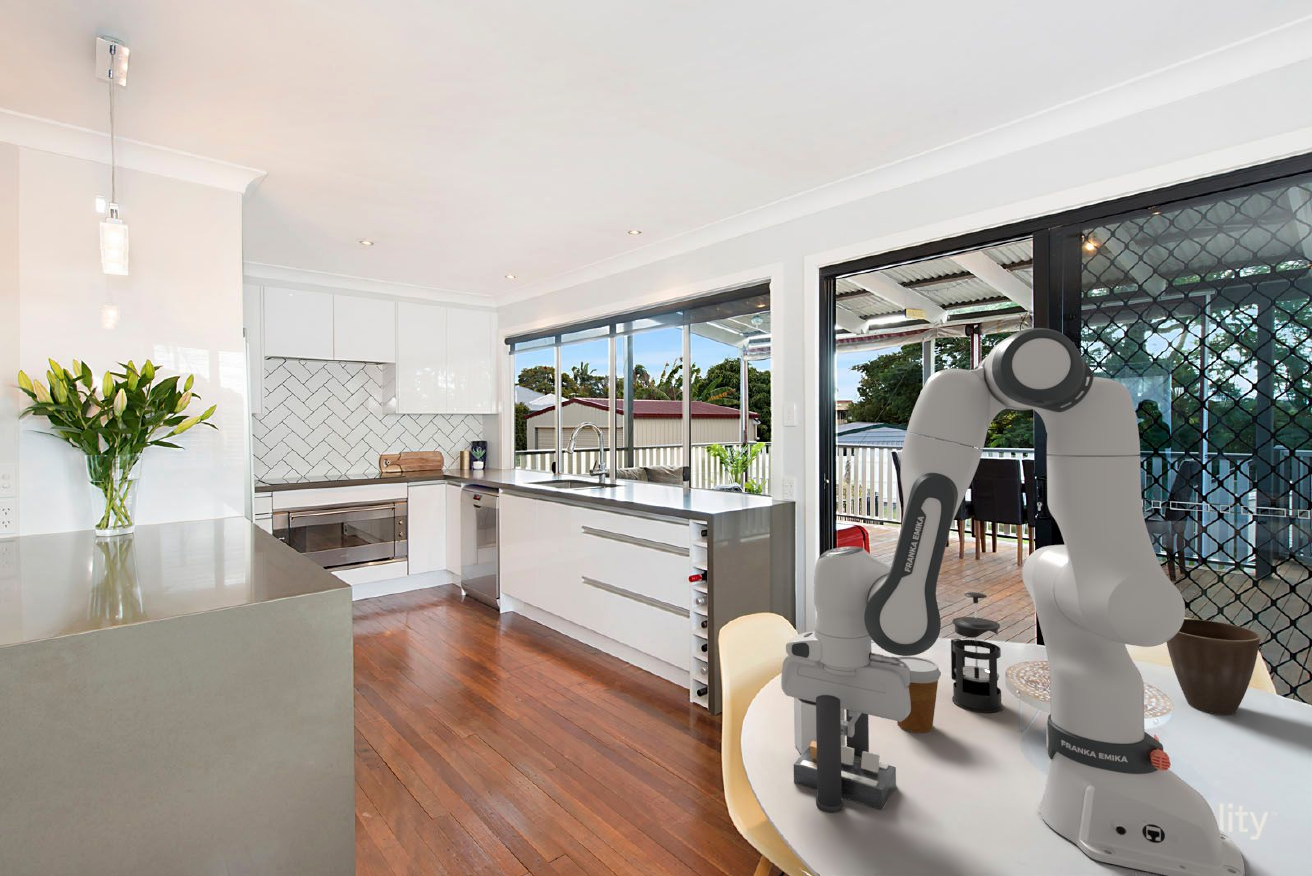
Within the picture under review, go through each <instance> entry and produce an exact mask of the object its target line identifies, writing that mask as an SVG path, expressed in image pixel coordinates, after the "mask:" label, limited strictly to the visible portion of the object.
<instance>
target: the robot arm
mask: <svg viewBox="0 0 1312 876" xmlns="http://www.w3.org/2000/svg"><path fill="white" fill-rule="evenodd" d="M1089 366H1090V365H1088V364H1087V362H1086V361H1085V359H1084V358H1083V357H1082V355H1081V353H1080V351H1079V349H1078V348H1077V346H1076V345H1075V343H1074V342H1073V341H1072V340H1071V339H1070V338H1069V337H1067V336H1066V335H1064V334H1063V333H1061V332H1060V331H1057V330H1054V329H1050V328H1044V327H1032V328H1025V329H1023V330H1019V331H1016V332H1015V333H1013V334H1011V335H1010V336H1008V337H1007V338H1004V339H1003V340H1001V341H1000V342H999V343H997V344H996V345H995V346H994V347H993V348H992V349H991V350H990V352H989V353H988V354H987V355H986V356H985V357H984V358H983V359H982V360H981V361H980V362H979V364H977V366H975V367H974V368H973V369H968V370H967V369H964V368H946V369H942V370H938V371H937V372H934V373H932V374H930V376H929V377H928V378H927V380H926V381H925V384H924V385H923V388H922V390H921V391H920V394H919V395H918V397H917V400H916V402H915V405H914V407H913V409H912V413H911V414H910V415H911V416H910V418H909V422H908V425H907V429H906V431H905V432H906V433H905V436H904V440H903V444H902V450H901V451H902V452H901V456H900V457H901V458H900V459H901V460H900V483H901V489H902V490H901V491H902V497H903V516H902V523H901V526H900V531H899V535H898V539H897V542H896V547H895V550H894V555H893V559H892V561H891V562H892V563H891V564H889V563H887V562H886V561H883V560H881V559H879V558H877V557H875V556H873V555H872V554H870V553H869V552H868V551H867V550H866V549H865V548H863V547H859V546H848V545H847V546H841V547H835V548H832V549H827V550H826V551H824V552H823V553H821V555H820V556H819V557H818V558H817V560H816V563H815V568H814V577H813V603H814V607H815V611H816V619H815V622H814V627H813V631H806V632H801V633H800V634H798V635H795V636H794V637H792V638H790V640H789V641H787V643H786V644H785V652H786V654H787V655H786V656H785V658H784V659H783V661H782V666H781V668H782V669H781V678H780V679H781V681H780V686H781V691H783V693H784V694H785V695H786V696H787V697H791V698H794V697H795V698H799V699H803V700H808V701H812V702H816V697H818V696H820V695H831V696H835V697H837V698H839V699H840V708H842V709H844V710H846V709H847V710H849V716H850V717H852V719H851V720H850V722H848V721H846V720H845V721H844V720H841V735H845V737H847V736H848V737H853V735H854V733H855V723H856V721H857V720H858V718H859V717H860V715H861V713H864V714H868V716H869V715H870V716H872V717H877V718H883V719H886V720H891V721H894V722H895V721H896V722H897V721H899V722H902V721H903V720H904V719H906V718H907V717H908V715H909V714H910V711H911V702H910V693H909V687H908V686H909V685H910V682H911V672H910V669H909V667H908V666H907V664H906V663H904V662H902V661H901V660H900V659H899V658H897V657H898V656H899V657H900V656H913V657H914V656H918V655H920V654H923V653H925V652H927V651H928V650H930V648H932V647H933V645H934V644H935V643H936V641H937V640H938V638H939V636H940V633H941V627H942V626H941V624H942V623H941V614H940V611H939V610H940V609H939V605H938V602H937V585H938V581H939V580H938V579H939V575H940V572H941V568H942V563H943V559H944V555H945V552H946V547H947V543H948V538H949V535H950V531H951V527H952V525H953V522H954V519H955V517H956V515H957V513H958V510H959V509H960V506H961V504H962V501H963V500H964V498H965V497H966V494H967V492H968V490H969V488H970V486H971V483H972V481H973V478H974V477H975V474H976V472H977V470H978V466H979V464H980V461H981V457H982V454H983V449H984V447H985V442H986V438H987V433H988V430H989V428H990V426H991V424H992V422H993V420H994V419H995V418H996V416H997V415H998V414H999V413H1000V412H1017V411H1028V410H1034V411H1035V412H1036V413H1037V414H1038V415H1039V416H1040V417H1041V420H1042V421H1043V424H1044V426H1045V427H1044V428H1045V431H1046V433H1047V437H1046V478H1047V479H1046V483H1047V484H1046V486H1047V487H1046V488H1047V489H1046V491H1047V493H1046V494H1047V495H1046V497H1047V500H1046V501H1047V503H1046V504H1047V507H1048V510H1049V513H1050V515H1051V516H1052V518H1054V520H1055V523H1056V524H1057V526H1058V529H1059V531H1060V533H1061V534H1060V535H1061V537H1062V540H1063V542H1064V544H1054V545H1047V546H1045V545H1044V546H1042V547H1040V548H1038V549H1036V550H1034V551H1033V552H1032V553H1031V554H1029V556H1028V557H1027V558H1026V560H1025V562H1024V564H1023V567H1022V570H1021V571H1022V572H1021V575H1022V582H1023V584H1024V587H1025V589H1026V590H1027V592H1028V594H1029V596H1030V598H1031V599H1032V602H1033V604H1034V605H1033V606H1034V607H1035V608H1034V609H1035V611H1036V615H1037V619H1038V622H1039V627H1040V630H1041V635H1042V637H1043V643H1044V647H1045V650H1046V651H1045V652H1046V654H1047V655H1046V656H1047V662H1048V669H1049V694H1050V695H1049V697H1050V698H1049V700H1050V713H1049V714H1048V716H1047V723H1046V727H1045V728H1046V729H1045V730H1046V751H1047V755H1048V757H1049V760H1048V761H1049V763H1048V769H1047V778H1046V783H1045V788H1044V792H1043V795H1042V798H1041V802H1040V804H1039V807H1038V811H1039V815H1040V817H1041V818H1042V820H1043V821H1044V822H1045V823H1046V824H1047V825H1048V826H1049V827H1050V828H1051V829H1052V830H1053V831H1055V832H1056V833H1058V834H1059V835H1061V836H1062V837H1064V838H1066V839H1067V840H1069V841H1071V842H1072V843H1074V844H1075V845H1076V846H1077V847H1078V848H1079V849H1080V850H1081V851H1082V852H1083V853H1084V854H1086V856H1088V857H1089V858H1091V859H1092V860H1095V861H1097V862H1102V863H1107V864H1112V865H1116V866H1120V867H1124V868H1125V867H1126V868H1130V869H1135V870H1139V871H1144V872H1149V873H1155V874H1159V875H1164V876H1246V869H1245V863H1244V859H1243V856H1242V854H1241V851H1240V850H1239V848H1238V846H1237V844H1236V843H1235V842H1234V840H1233V839H1231V837H1230V836H1228V835H1227V834H1226V833H1225V832H1224V831H1222V830H1221V829H1219V828H1220V827H1219V824H1218V821H1217V818H1216V816H1215V813H1214V812H1213V810H1212V808H1211V806H1210V804H1209V803H1208V801H1207V800H1206V798H1205V797H1204V795H1202V794H1201V793H1200V792H1199V791H1198V790H1197V789H1195V788H1194V787H1193V786H1191V785H1190V784H1188V782H1187V781H1184V779H1182V778H1181V777H1180V776H1178V775H1177V774H1176V773H1175V772H1173V771H1172V770H1171V769H1170V768H1171V761H1170V757H1169V754H1167V752H1165V750H1164V746H1163V744H1162V743H1161V742H1160V740H1159V737H1157V735H1156V734H1153V736H1152V735H1150V734H1149V733H1148V732H1146V731H1145V695H1144V694H1145V693H1144V692H1145V687H1144V686H1145V685H1144V679H1143V677H1142V674H1141V672H1140V670H1139V668H1138V667H1137V665H1136V664H1135V663H1134V661H1133V659H1132V657H1131V655H1130V653H1129V651H1128V648H1127V646H1126V645H1130V646H1135V647H1143V648H1149V647H1158V646H1160V645H1163V644H1165V643H1167V641H1169V640H1170V639H1172V638H1173V637H1174V636H1175V635H1176V634H1177V633H1178V631H1179V630H1180V628H1181V626H1182V624H1183V621H1184V619H1186V618H1185V617H1186V604H1185V600H1184V598H1183V595H1182V594H1181V592H1180V590H1179V589H1178V588H1177V586H1176V585H1175V584H1174V583H1173V582H1172V581H1171V579H1170V578H1169V577H1168V575H1167V573H1166V572H1165V571H1164V569H1163V567H1162V566H1161V564H1160V561H1159V559H1158V557H1157V555H1156V552H1155V550H1154V549H1155V548H1154V546H1153V543H1152V540H1151V537H1150V535H1149V531H1148V528H1147V525H1146V522H1145V515H1144V512H1143V510H1144V509H1143V504H1142V503H1143V502H1142V481H1141V476H1142V475H1141V474H1142V473H1141V444H1140V435H1139V434H1140V433H1139V426H1138V425H1139V424H1138V419H1137V414H1136V409H1135V405H1134V402H1133V399H1132V394H1131V392H1130V391H1129V389H1128V388H1127V386H1125V385H1124V384H1122V383H1121V382H1119V381H1116V380H1113V379H1112V378H1111V379H1110V378H1106V377H1098V376H1095V375H1094V371H1093V370H1092V369H1091V368H1090V367H1089ZM872 642H874V643H875V644H876V646H878V647H879V648H881V649H882V650H883V651H885V652H888V653H889V654H892V655H895V656H888V655H883V654H879V653H875V652H872ZM900 664H902V665H900ZM903 665H904V666H903Z"/></svg>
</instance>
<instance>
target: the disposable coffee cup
mask: <svg viewBox="0 0 1312 876" xmlns="http://www.w3.org/2000/svg"><path fill="white" fill-rule="evenodd" d="M896 657H897V658H899V659H900V660H901V661H902V662H904V663H906V664H907V666H908V667H909V669H910V672H911V682H910V685H909V686H908V687H909V693H910V702H911V711H910V714H909V715H908V717H907V718H906V719H904V720H903V721H902V722H899V721H896V723H897V726H898V727H900V728H901V729H902V730H905V731H908V732H911V733H918V734H920V733H921V734H924V733H928V732H931V731H933V726H934V717H935V710H936V709H935V708H936V701H937V700H936V699H937V695H938V694H937V692H938V684H939V679H940V677H941V674H942V673H941V671H940V669H939V665H938V664H937V662H934V661H932V660H931V659H927V658H925V657H919V656H914V655H913V656H900V655H899V656H896ZM900 665H902V664H900ZM903 666H904V665H903Z"/></svg>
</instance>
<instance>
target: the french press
mask: <svg viewBox="0 0 1312 876" xmlns="http://www.w3.org/2000/svg"><path fill="white" fill-rule="evenodd" d="M964 596H965V597H968V598H972V603H973V604H974V616H972V617H971V616H959V617H955V618H953V619H952V620H951V621H952V624H953V625H954V632H955V633H956V634H958V635H959V636H962V637H965V638H970V639H960V638H951V640H950V662H951V663H950V664H951V666H950V667H951V668H950V670H951V671H950V672H951V680H953V681H955V682H953V684H952V685H953V686H952V688H953V689H952V691H953V692H952V693H953V695H952V699H951V700H952V702H953V704H954V705H956V706H957V707H959V708H961V709H963V710H967V711H969V712H975V713H980V714H982V713H983V714H995V713H998V712H1000V711H1002V710H1003V708H1004V707H1003V705H1004V704H1003V702H1002V690H1001V688H1000V687H998V680H999V679H1000V675H999V673H998V659H999V658H1001V656H1002V652H1001V651H1002V650H1001V647H1000V646H999V645H997V644H995V643H991V642H988V641H985V640H979V639H978V637H979V636H981V635H984V634H985V633H987V632H992V633H994V634H996V635H997V636H998V635H999V630H1000V629H1001V624H1000V623H998V622H997V621H994V620H990V619H987V618H983V617H978V612H977V611H978V610H977V607H978V605H977V604H979V599H984V598H987V597H988V596H987V595H986V594H984V593H983V592H982V593H981V592H974V591H971V592H970V591H969V592H965V593H964ZM966 647H975V649H974V650H975V652H974V651H968V650H966V649H965V648H966ZM978 647H979V648H984V649H988V650H989V652H978ZM966 658H968V659H972V660H975V665H966ZM978 660H981V661H982V660H983V661H988V668H986V667H982V666H979V665H978V664H979V662H978Z"/></svg>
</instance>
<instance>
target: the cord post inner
mask: <svg viewBox="0 0 1312 876" xmlns="http://www.w3.org/2000/svg"><path fill="white" fill-rule="evenodd" d="M845 711H846V712H845V715H846V716H845V717H846V718H845V721H848V722H850V720H851V719H852V717H850V716H849V710H847V709H845ZM869 726H870V725H869V715H868V714H864V713H861V715H860V717H859V718H858V720H857V721H856V723H855V733H854V735H853V737H848V736H846V747H850V748H854V755H855V756H859V757H862V752H863V751H865V752H869V753H870V740H869V739H870V738H869V735H870V734H869V731H870V730H869V729H870V728H869Z"/></svg>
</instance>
